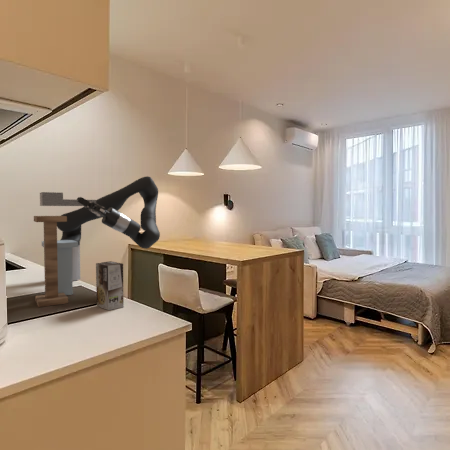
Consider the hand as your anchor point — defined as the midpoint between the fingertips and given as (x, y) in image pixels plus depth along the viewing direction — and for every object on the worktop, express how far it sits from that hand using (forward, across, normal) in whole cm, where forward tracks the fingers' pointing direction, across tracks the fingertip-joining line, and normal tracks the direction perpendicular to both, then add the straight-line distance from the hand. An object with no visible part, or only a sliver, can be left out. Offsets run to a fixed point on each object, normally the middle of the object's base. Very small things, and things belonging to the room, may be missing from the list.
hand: (78, 199), depth 137 cm
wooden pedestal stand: (-11, 0, +39) cm, 41 cm away
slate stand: (-15, -12, +37) cm, 42 cm away
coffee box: (-26, +18, +31) cm, 44 cm away
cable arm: (+2, 0, +4) cm, 4 cm away
